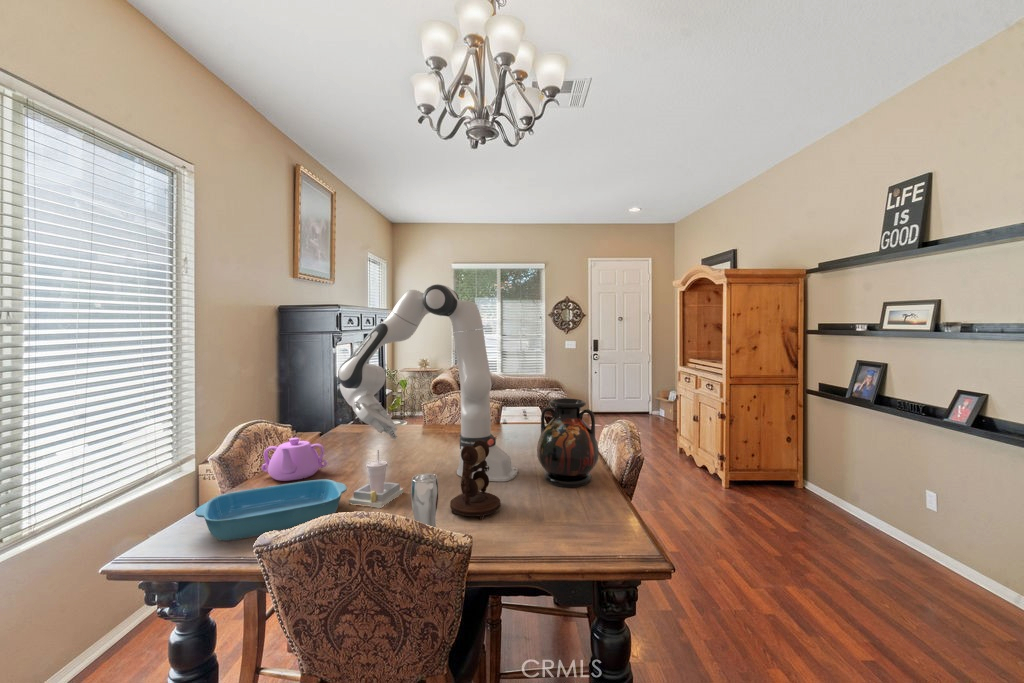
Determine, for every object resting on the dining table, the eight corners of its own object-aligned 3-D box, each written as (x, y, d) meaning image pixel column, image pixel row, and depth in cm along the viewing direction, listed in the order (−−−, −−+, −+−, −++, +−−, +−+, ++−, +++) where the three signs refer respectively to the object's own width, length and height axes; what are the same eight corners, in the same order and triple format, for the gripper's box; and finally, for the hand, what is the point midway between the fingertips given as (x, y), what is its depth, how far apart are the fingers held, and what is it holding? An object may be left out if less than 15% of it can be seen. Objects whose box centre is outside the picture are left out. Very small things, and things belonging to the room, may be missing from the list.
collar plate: (403, 492, 142) (403, 479, 142) (380, 508, 130) (380, 493, 129) (374, 489, 145) (373, 476, 145) (349, 504, 133) (348, 490, 133)
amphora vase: (530, 487, 147) (529, 404, 146) (544, 468, 167) (544, 395, 167) (594, 494, 140) (595, 407, 140) (601, 473, 161) (601, 397, 160)
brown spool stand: (467, 497, 138) (466, 434, 137) (509, 505, 132) (508, 439, 131) (440, 515, 125) (439, 446, 124) (485, 525, 118) (484, 452, 118)
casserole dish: (339, 495, 141) (339, 473, 141) (354, 520, 122) (353, 495, 122) (200, 521, 122) (199, 496, 122) (191, 556, 103) (190, 526, 103)
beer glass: (432, 542, 109) (432, 483, 108) (406, 540, 110) (406, 481, 110) (442, 530, 116) (442, 473, 115) (418, 527, 117) (417, 472, 117)
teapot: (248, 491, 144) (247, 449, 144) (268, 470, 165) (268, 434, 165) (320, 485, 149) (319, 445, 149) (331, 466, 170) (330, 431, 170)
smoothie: (376, 499, 133) (375, 453, 133) (362, 495, 136) (361, 450, 136) (392, 492, 138) (391, 448, 138) (378, 488, 142) (377, 445, 141)
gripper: (359, 394, 152) (380, 420, 145) (388, 411, 170) (408, 435, 163) (345, 407, 151) (365, 434, 145) (376, 422, 169) (395, 447, 162)
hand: (388, 434), depth 154 cm, fingers open, 8 cm apart
